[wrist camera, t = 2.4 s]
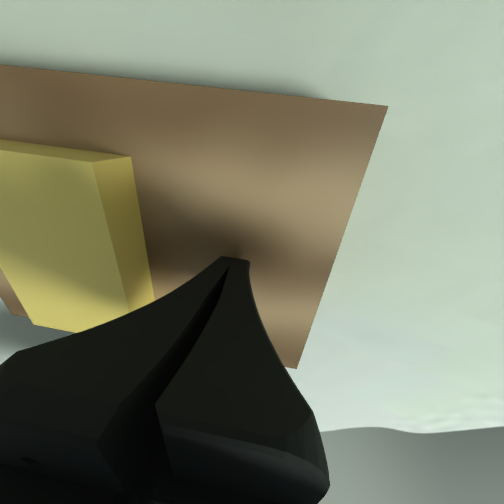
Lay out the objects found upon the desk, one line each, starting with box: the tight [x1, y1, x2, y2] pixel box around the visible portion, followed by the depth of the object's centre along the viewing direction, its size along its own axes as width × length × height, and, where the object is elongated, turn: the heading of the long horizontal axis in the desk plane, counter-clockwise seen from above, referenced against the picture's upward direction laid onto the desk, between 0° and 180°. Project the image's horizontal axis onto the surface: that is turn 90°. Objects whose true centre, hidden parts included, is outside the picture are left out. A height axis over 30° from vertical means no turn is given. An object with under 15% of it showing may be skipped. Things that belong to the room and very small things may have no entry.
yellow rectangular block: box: [0, 139, 155, 333], centre depth 10 cm, size 9×6×2 cm, turn 174°
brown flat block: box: [0, 65, 388, 369], centre depth 13 cm, size 14×20×4 cm
